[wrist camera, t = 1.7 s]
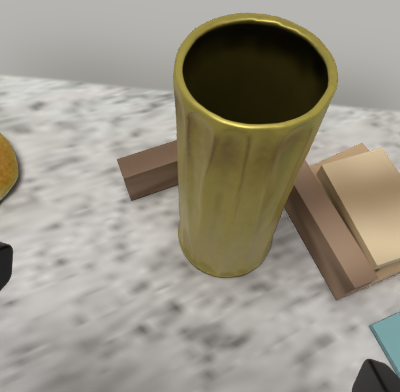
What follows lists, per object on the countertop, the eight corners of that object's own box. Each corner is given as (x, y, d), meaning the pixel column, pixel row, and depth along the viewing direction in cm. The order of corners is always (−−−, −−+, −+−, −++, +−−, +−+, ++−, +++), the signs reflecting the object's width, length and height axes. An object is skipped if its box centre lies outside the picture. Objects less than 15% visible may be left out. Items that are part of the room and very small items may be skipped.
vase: (288, 257, 24) (392, 107, 11) (198, 293, 23) (201, 172, 10) (247, 180, 26) (294, -14, 14) (165, 209, 25) (133, 27, 13)
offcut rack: (427, 260, 24) (463, 240, 21) (189, 364, 21) (187, 360, 18) (326, 115, 29) (342, 81, 26) (125, 182, 26) (114, 154, 23)
